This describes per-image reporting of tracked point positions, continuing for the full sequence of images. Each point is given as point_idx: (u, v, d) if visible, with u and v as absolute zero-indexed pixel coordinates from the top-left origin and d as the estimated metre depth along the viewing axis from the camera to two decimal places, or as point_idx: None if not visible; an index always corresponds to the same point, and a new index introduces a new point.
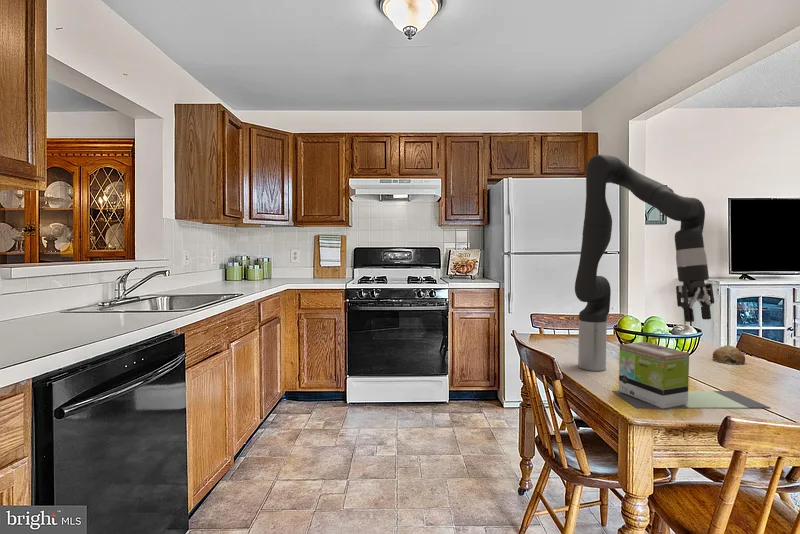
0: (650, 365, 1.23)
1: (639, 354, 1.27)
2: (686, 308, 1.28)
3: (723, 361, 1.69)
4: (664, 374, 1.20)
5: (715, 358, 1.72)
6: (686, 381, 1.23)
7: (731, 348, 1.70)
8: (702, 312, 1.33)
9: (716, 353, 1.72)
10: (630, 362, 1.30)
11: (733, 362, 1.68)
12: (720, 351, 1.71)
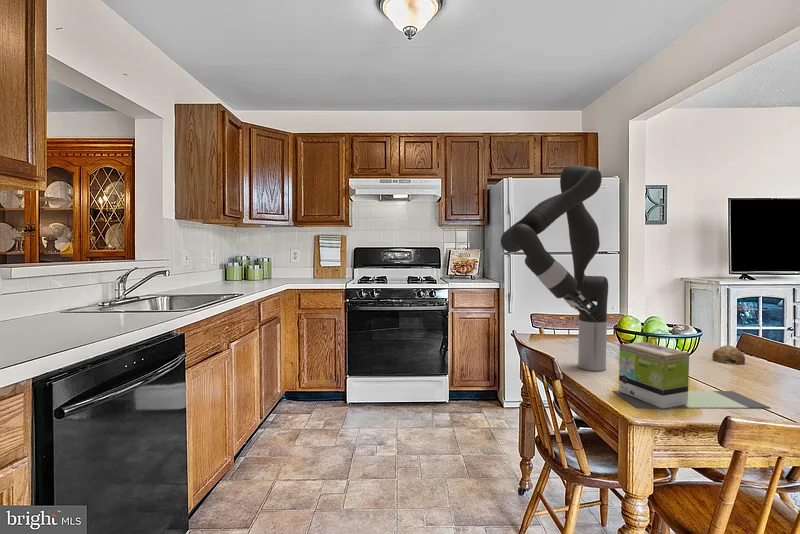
0: (650, 365, 1.23)
1: (639, 354, 1.27)
2: None
3: (723, 361, 1.70)
4: (664, 374, 1.20)
5: (715, 358, 1.72)
6: (686, 381, 1.23)
7: (731, 348, 1.70)
8: None
9: (716, 353, 1.72)
10: (630, 362, 1.30)
11: (733, 362, 1.68)
12: (720, 351, 1.71)
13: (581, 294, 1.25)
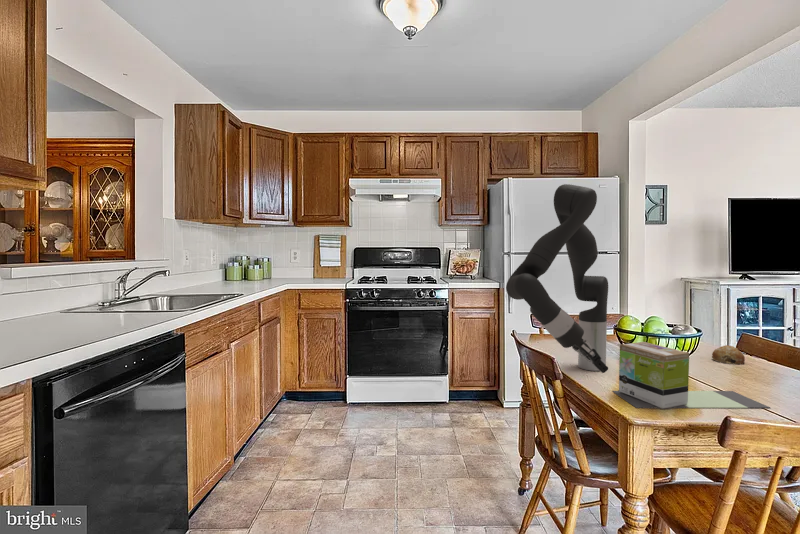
0: (650, 365, 1.23)
1: (639, 354, 1.27)
2: None
3: (722, 361, 1.70)
4: (664, 374, 1.20)
5: (715, 358, 1.73)
6: (686, 381, 1.23)
7: (730, 348, 1.70)
8: None
9: (716, 353, 1.72)
10: (630, 362, 1.30)
11: (732, 362, 1.68)
12: (720, 351, 1.71)
13: (593, 352, 1.22)
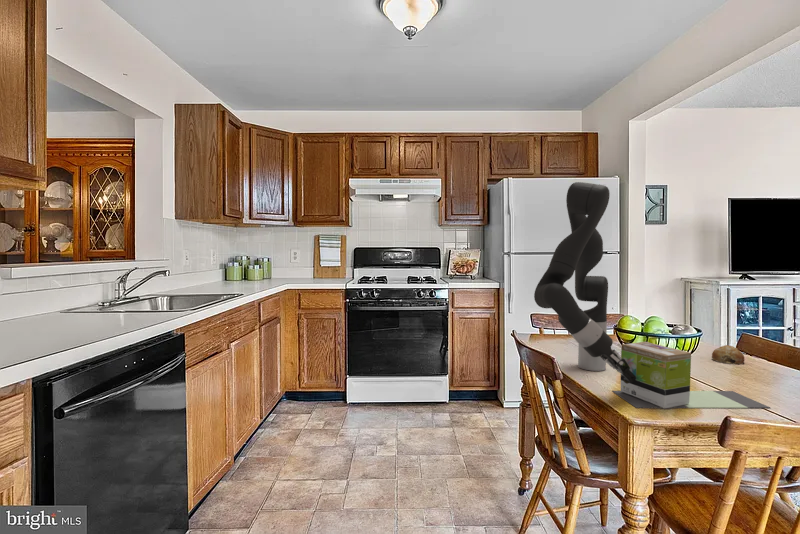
0: (652, 365, 1.23)
1: (641, 354, 1.27)
2: None
3: (722, 361, 1.70)
4: (666, 374, 1.20)
5: (714, 358, 1.73)
6: (688, 381, 1.23)
7: (730, 348, 1.70)
8: None
9: (715, 353, 1.72)
10: (631, 362, 1.30)
11: (732, 362, 1.68)
12: (719, 351, 1.71)
13: (623, 362, 1.22)
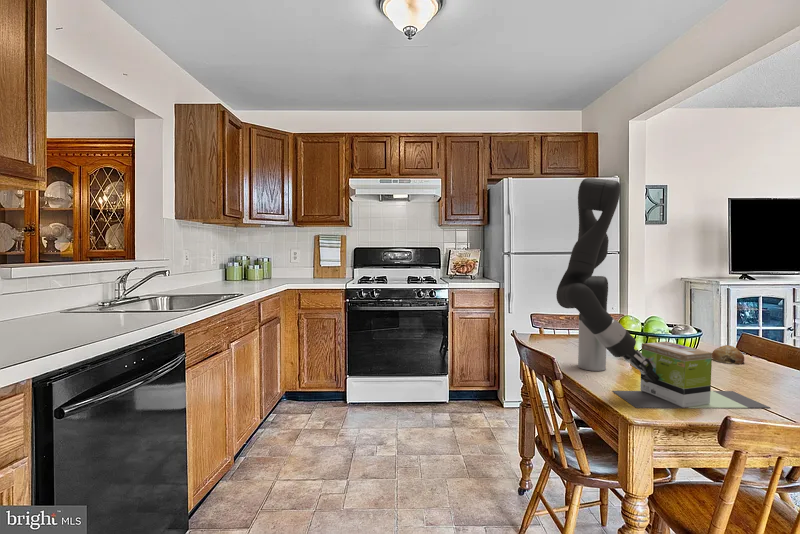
0: (671, 364, 1.24)
1: (660, 353, 1.28)
2: None
3: (722, 361, 1.70)
4: (685, 374, 1.21)
5: (714, 358, 1.73)
6: (709, 381, 1.23)
7: (730, 348, 1.70)
8: None
9: (715, 353, 1.72)
10: (651, 361, 1.31)
11: (732, 362, 1.68)
12: (719, 351, 1.71)
13: (647, 362, 1.22)
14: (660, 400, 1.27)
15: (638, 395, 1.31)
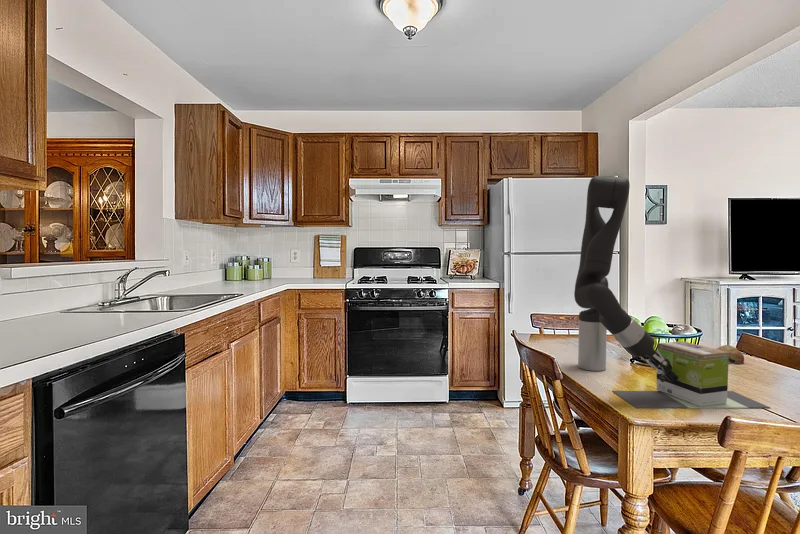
0: (688, 363, 1.25)
1: (677, 352, 1.28)
2: None
3: None
4: (702, 373, 1.21)
5: None
6: (726, 380, 1.24)
7: (730, 348, 1.71)
8: None
9: None
10: None
11: (732, 362, 1.68)
12: None
13: (666, 362, 1.22)
14: (660, 400, 1.27)
15: (638, 395, 1.31)
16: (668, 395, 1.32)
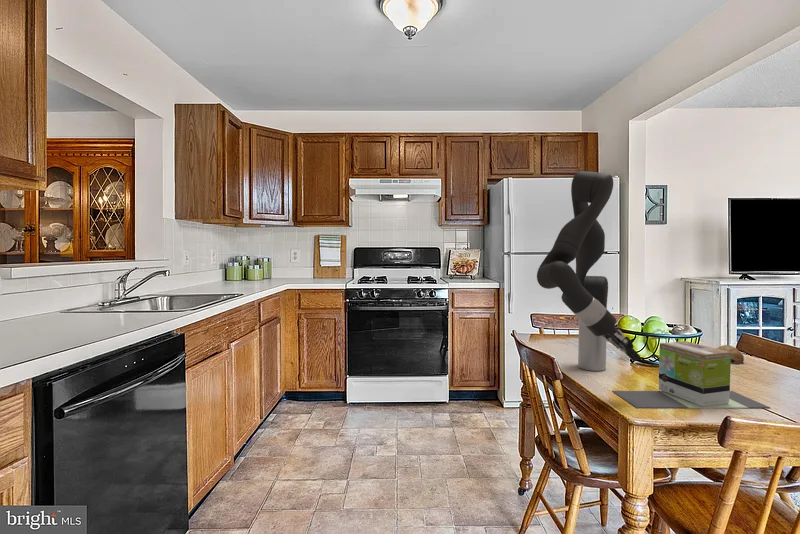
0: (690, 363, 1.25)
1: (679, 352, 1.28)
2: None
3: None
4: (705, 373, 1.21)
5: None
6: (728, 380, 1.24)
7: (730, 347, 1.71)
8: None
9: None
10: (669, 360, 1.32)
11: (732, 361, 1.69)
12: None
13: (627, 340, 1.22)
14: (660, 400, 1.27)
15: (638, 395, 1.31)
16: (668, 395, 1.32)
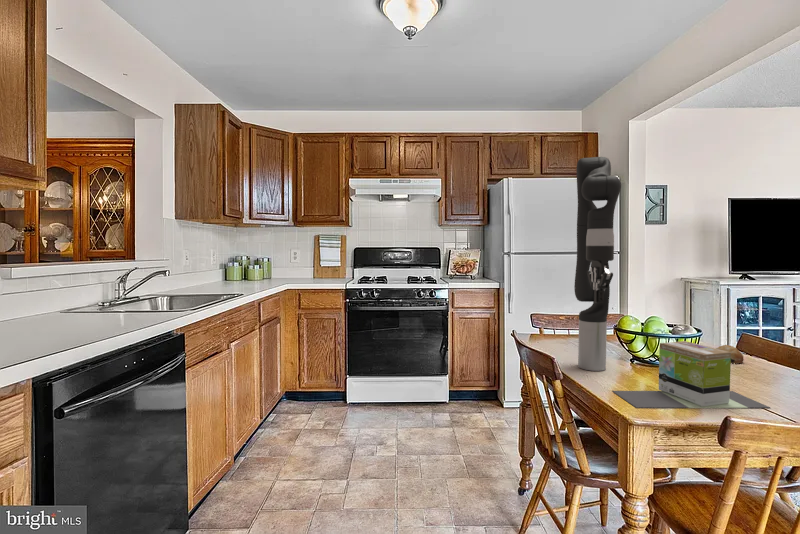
0: (690, 363, 1.25)
1: (679, 352, 1.28)
2: None
3: None
4: (705, 373, 1.21)
5: None
6: (728, 380, 1.24)
7: (729, 347, 1.71)
8: None
9: None
10: (669, 360, 1.32)
11: (731, 361, 1.69)
12: None
13: (610, 274, 1.27)
14: (660, 400, 1.27)
15: (638, 395, 1.31)
16: (668, 395, 1.32)
